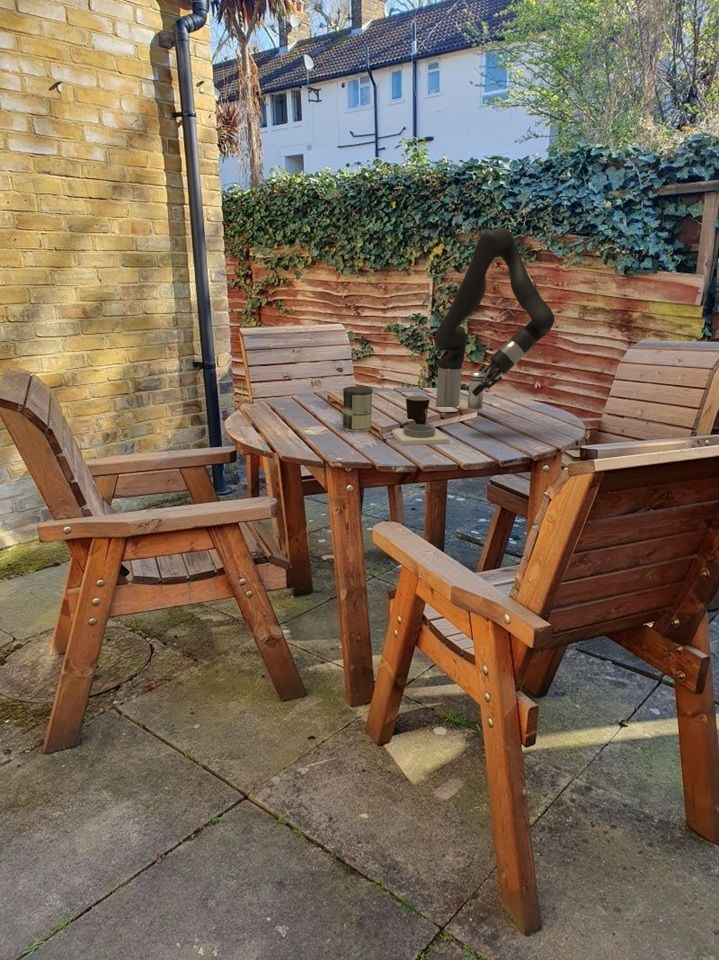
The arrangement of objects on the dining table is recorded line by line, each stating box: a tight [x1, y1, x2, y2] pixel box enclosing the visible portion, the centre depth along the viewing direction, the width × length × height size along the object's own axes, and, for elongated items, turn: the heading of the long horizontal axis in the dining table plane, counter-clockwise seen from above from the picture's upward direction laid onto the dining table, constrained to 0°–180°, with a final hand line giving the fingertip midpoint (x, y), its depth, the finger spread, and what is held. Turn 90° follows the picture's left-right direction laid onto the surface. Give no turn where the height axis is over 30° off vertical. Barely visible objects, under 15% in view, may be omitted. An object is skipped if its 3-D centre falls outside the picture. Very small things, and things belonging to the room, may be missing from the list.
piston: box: [467, 370, 485, 410], centre depth 230 cm, size 5×5×12 cm
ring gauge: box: [392, 424, 451, 446], centre depth 228 cm, size 16×16×4 cm
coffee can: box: [342, 386, 374, 433], centre depth 237 cm, size 10×10×14 cm
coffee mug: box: [405, 395, 431, 425], centre depth 246 cm, size 12×9×10 cm
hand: (470, 392), depth 229 cm, fingers closed on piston, 5 cm apart
